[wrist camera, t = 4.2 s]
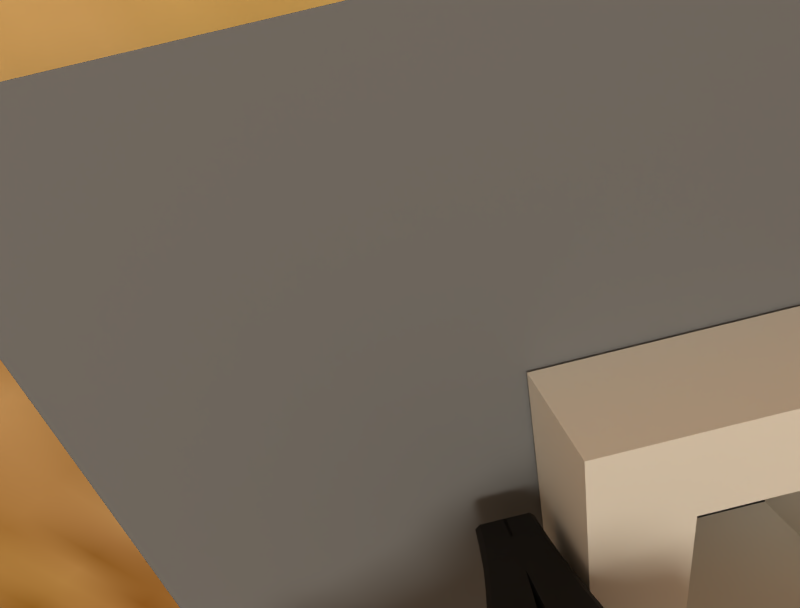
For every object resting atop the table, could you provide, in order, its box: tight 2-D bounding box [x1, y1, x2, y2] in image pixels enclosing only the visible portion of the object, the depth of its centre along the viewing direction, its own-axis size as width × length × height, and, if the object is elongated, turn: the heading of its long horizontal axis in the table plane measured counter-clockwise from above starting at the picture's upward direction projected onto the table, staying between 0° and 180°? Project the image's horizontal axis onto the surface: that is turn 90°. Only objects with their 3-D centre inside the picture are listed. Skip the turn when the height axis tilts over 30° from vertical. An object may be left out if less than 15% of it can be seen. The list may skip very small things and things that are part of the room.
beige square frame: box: [527, 306, 800, 608], centre depth 10 cm, size 8×8×2 cm
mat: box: [0, 0, 800, 608], centre depth 12 cm, size 24×22×1 cm
